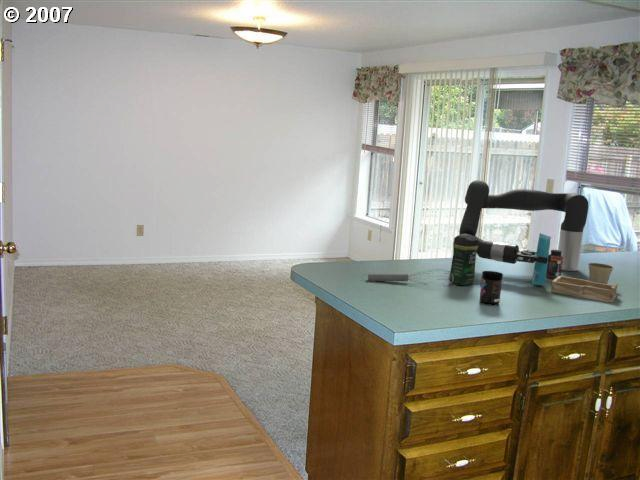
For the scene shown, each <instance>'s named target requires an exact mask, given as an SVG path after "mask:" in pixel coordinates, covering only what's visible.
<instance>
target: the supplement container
mask: <svg viewBox="0 0 640 480" xmlns="http://www.w3.org/2000/svg"><path fill="white" fill-rule="evenodd" d="M503 277H504V274H503V273H502V272H499V271H494V270H483V271H482V273H481V283H480V290H479V291H480V292H479V302H480V303H481V304H483V305H487V306H498V305H499V304H500V301H501V295H502V294H501V291H502V285H503V279H504V278H503Z"/></svg>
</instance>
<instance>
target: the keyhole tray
mask: <svg viewBox="0 0 640 480" xmlns="http://www.w3.org/2000/svg"><path fill="white" fill-rule="evenodd" d="M618 285H619V284H618V283H616V282H615V283H614V284H602V283H596V282H590V281H589V279H588V280H586V279H581V278H575V277H569V276H565V275H564V276H563V275H561V276H558V277H557V278H556V279H554V278H553V280H552V281H551V285H550V293H556V294H559V295H560V294H561V295H566V296H571V297H578V298H582V299H589V300H594V301H600V302H604V303H605V302H606V303H609V304H610V303H611V304H612V303H613V301H614V300H615V298H616V297H617V294H618V293H617V291H618V290H617V289H618Z"/></svg>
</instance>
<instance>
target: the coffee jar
mask: <svg viewBox="0 0 640 480" xmlns="http://www.w3.org/2000/svg"><path fill="white" fill-rule="evenodd" d="M478 238H479V237H478V236H477V235H476V236H473V235H462V236H458V235H457V236H455V237H454V238H453V244H452V246H453V247H452V249H453V250H452V260H451V266H450V270H449V271H450V272H451V273H452V274H453V277H454V278H453V277H452V274H451V273H450V272H449V276H448V282H451V281H452V280H453V279H454V281H453V282H452V283H451V284H453V285H455V286H458V285H459V286H460V285H461V286H470V285H473V284H474V283H475V273H476V259H477V249H478V241H479V240H478ZM452 278H453V279H452Z"/></svg>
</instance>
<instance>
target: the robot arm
mask: <svg viewBox="0 0 640 480" xmlns="http://www.w3.org/2000/svg"><path fill="white" fill-rule="evenodd" d="M464 202H465V204H466V208H465V211H464V213H463V216H462V219H461V223H460V227H459V231H458V232H459V234H458V235H457V236H462V235H473V236H476V237H477V233H478V230H479V229H478V228H479V223H480V219H481V213H482V210H483V209H502V210H503V209H504V210H517V211H528V212H531V211H533V212H535V211H550V210H551V211H558V212H561V213H562V212H563V213H564V220H563V221H562V222H561V224H560V231H559V240H558V248H557V250H560V251H561V256H562V257H563V263H562V270H561V271H568V272H577V271H578V270H579V264H580V263H579V262H580V256H581V250H582V243H583V235H584V233H583V232H584V229H585V227H586V224H587V220H588V219H587V218H588V213H589V200H588V198H586V196H584V195H582V194H580V193H577V192H569V193H568V192H562V193H561V192H560V193H558V192H556V193H555V192H547V191H542V190H536V189H530V188H529V189H528V188H516V189H512V190H509V191H506V192H504V193H499V194H490V187H489V185H488V183H487V182H485V181H483V180H480V179H476V180H472V182H470V183H469V185H468V186H467V190H466V193H465V197H464ZM477 238H478V240H479V241H478V249H477V253H476V256H477V257H479V258H481V259H486V260H492V261H495V262H501V263H505V264H510V265H511V264H512V265H513V264H514V265H515V264H517V262H521V263H528V264H535V263H536V262H539V263H545V264H546V263H547V262H548V261H551V256H550V254H549V256H548V258H546V257H539V256H538V257H537V256H536V253H537V251H534V250H529V249H523V250H520V247H519V245H518V244H513V243H506V242H496V241H488V240H483V239H482V238H480V237H477Z"/></svg>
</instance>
